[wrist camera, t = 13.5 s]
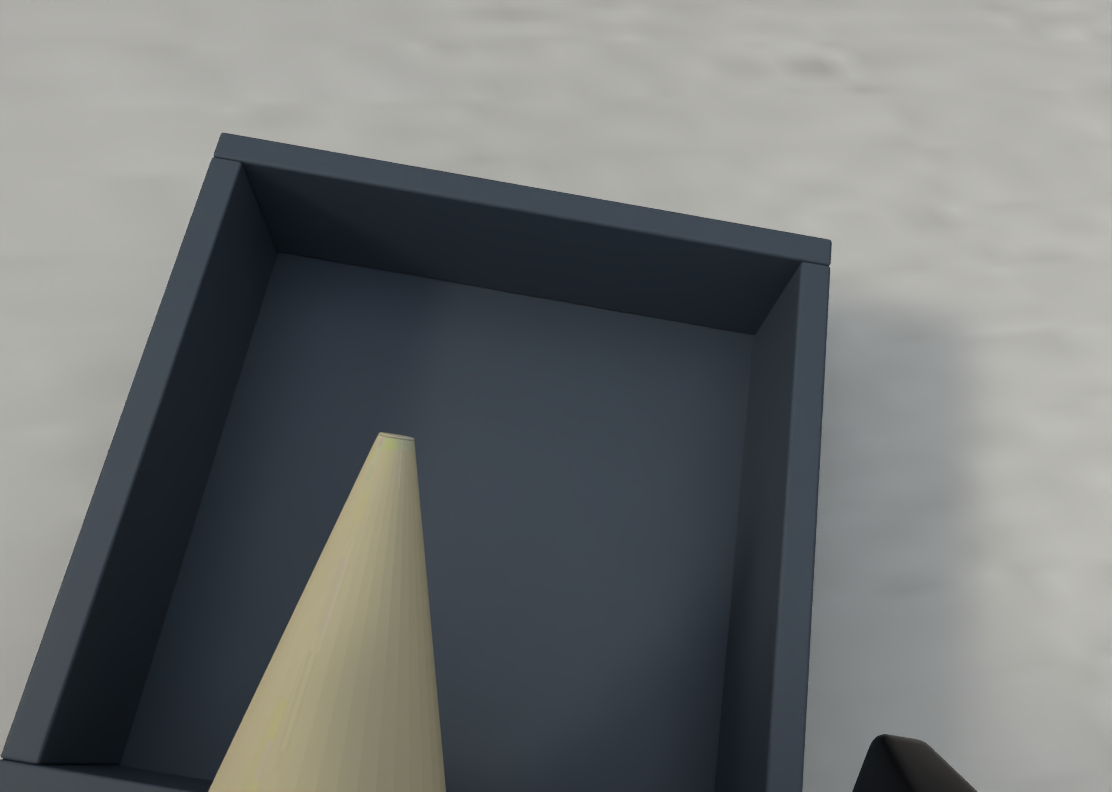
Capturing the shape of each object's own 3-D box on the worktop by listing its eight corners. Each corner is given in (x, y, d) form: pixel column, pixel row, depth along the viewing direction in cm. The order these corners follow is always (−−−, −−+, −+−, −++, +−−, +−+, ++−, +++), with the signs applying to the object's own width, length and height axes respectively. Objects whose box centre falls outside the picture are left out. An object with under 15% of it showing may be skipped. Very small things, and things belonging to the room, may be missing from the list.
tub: (729, 901, 18) (796, 936, 14) (87, 794, 18) (-18, 801, 14) (774, 326, 22) (832, 238, 19) (263, 237, 22) (220, 130, 18)
